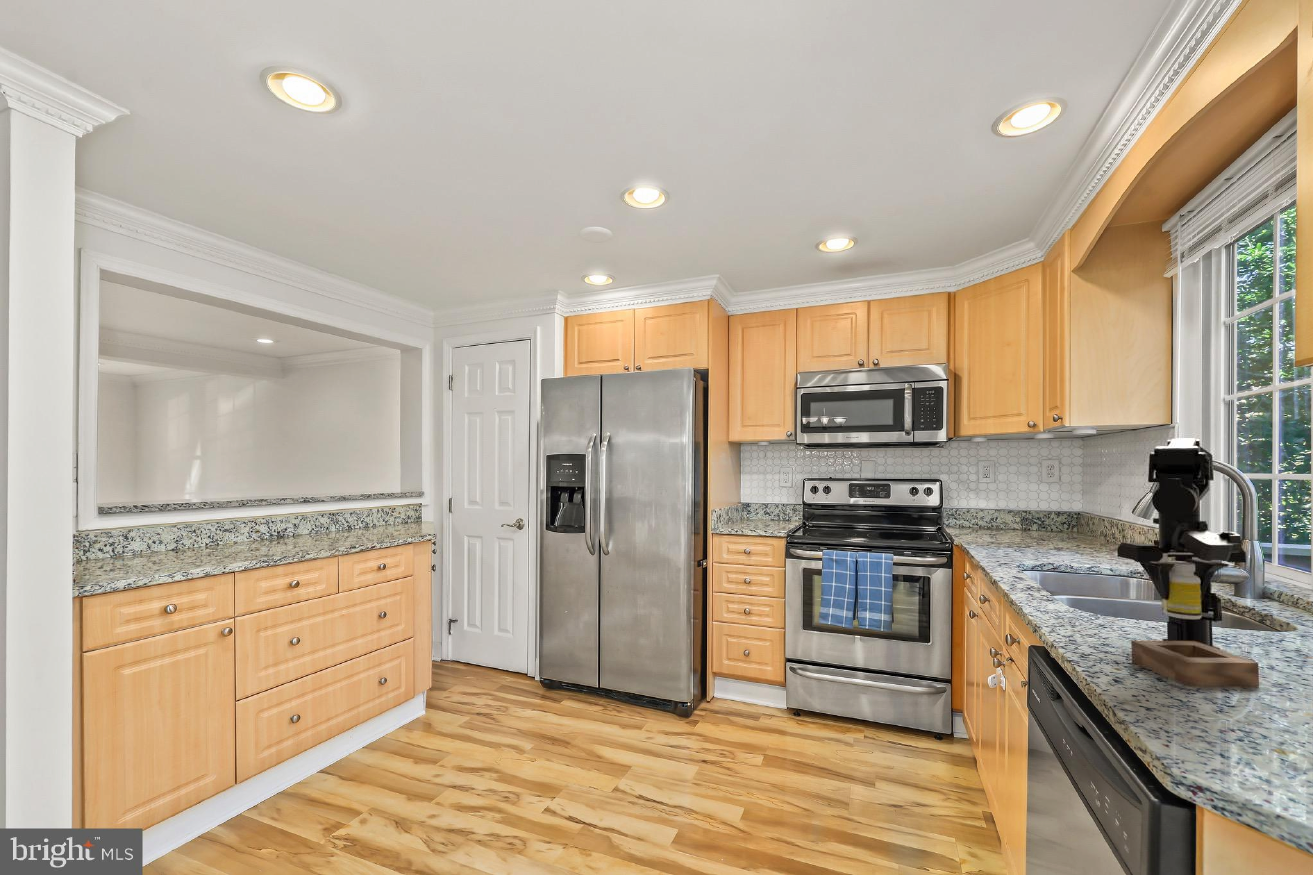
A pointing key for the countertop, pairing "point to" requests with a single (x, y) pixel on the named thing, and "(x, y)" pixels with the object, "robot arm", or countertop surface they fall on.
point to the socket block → (1195, 663)
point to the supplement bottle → (1183, 592)
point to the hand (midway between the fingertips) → (1181, 599)
